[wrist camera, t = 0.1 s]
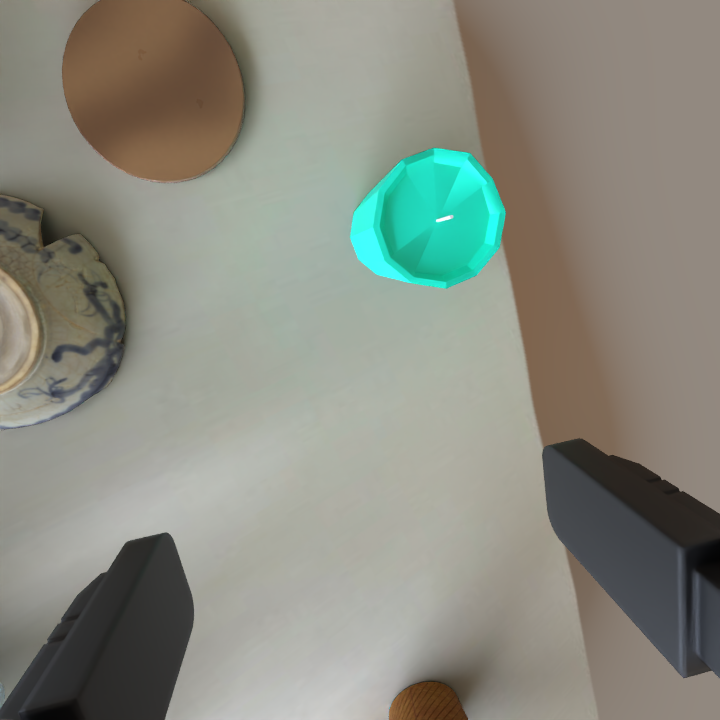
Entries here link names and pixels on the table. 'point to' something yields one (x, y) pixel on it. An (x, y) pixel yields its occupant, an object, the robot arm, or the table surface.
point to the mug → (2, 695)
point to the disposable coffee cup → (427, 703)
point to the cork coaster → (153, 88)
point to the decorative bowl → (52, 320)
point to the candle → (430, 220)
